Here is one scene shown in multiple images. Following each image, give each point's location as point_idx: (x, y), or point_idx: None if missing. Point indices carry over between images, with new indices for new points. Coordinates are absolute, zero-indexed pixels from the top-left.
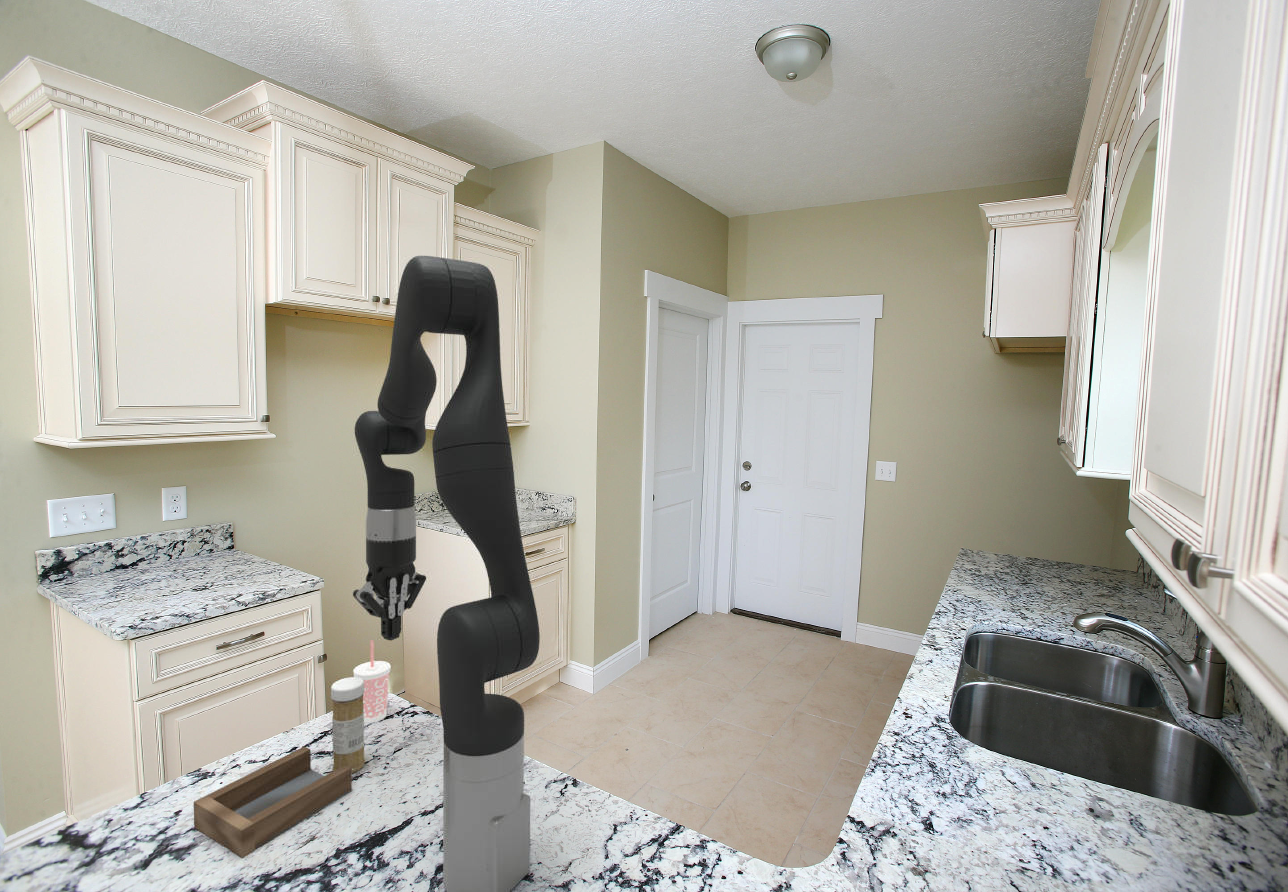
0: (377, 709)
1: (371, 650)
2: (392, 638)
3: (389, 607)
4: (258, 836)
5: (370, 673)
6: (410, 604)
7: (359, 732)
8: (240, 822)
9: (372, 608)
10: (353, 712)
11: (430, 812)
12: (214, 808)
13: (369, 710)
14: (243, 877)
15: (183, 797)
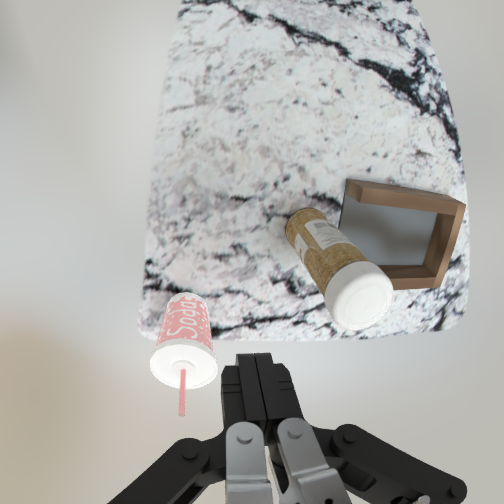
0: (193, 304)
1: (184, 396)
2: (269, 354)
3: (320, 461)
4: (445, 197)
5: (199, 357)
6: (186, 454)
7: (329, 229)
8: (459, 217)
9: (408, 455)
10: (356, 250)
11: (340, 46)
12: (446, 260)
13: (203, 310)
14: (460, 172)
15: (393, 323)
